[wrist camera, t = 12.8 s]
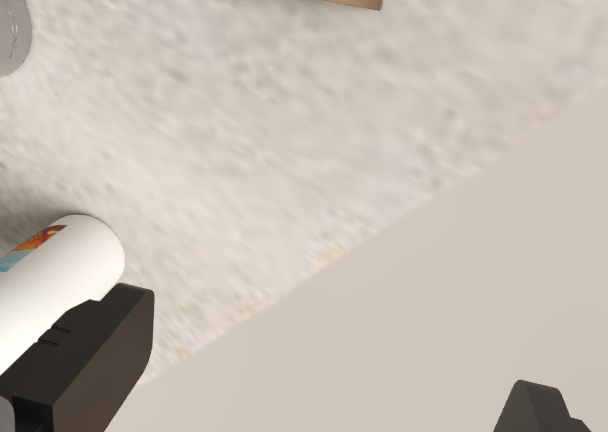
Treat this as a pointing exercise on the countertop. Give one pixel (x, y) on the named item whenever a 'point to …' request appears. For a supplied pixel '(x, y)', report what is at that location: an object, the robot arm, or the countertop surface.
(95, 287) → the milk bottle
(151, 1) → the countertop surface
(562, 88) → the countertop surface
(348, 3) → the frame
